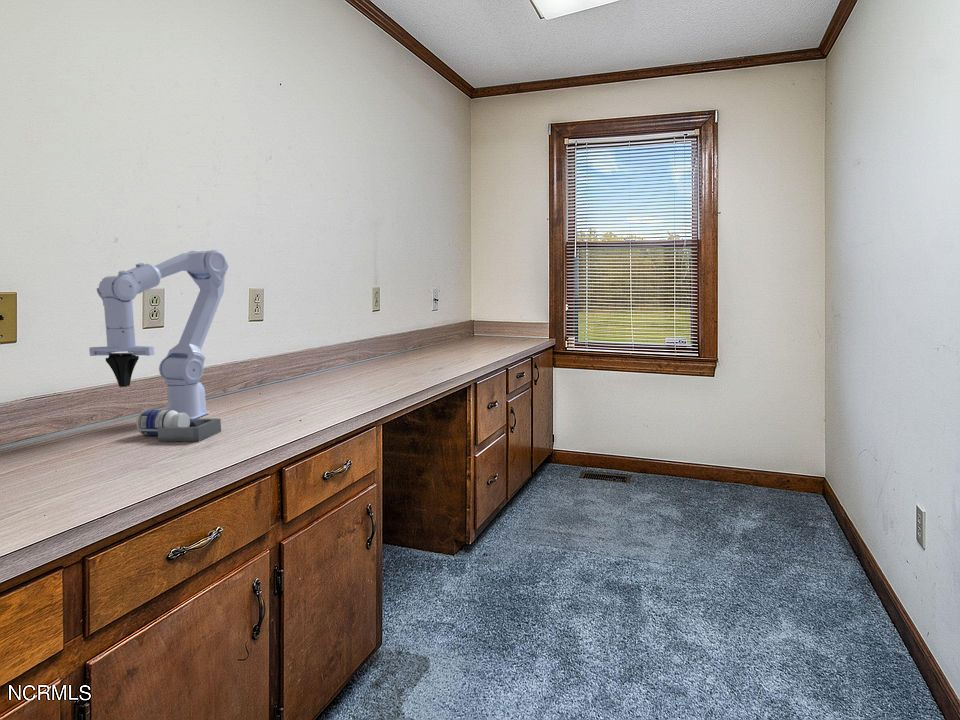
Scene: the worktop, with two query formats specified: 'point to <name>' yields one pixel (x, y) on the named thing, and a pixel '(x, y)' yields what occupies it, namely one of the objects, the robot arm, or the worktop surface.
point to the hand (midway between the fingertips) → (124, 386)
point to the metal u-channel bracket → (191, 431)
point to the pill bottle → (160, 420)
